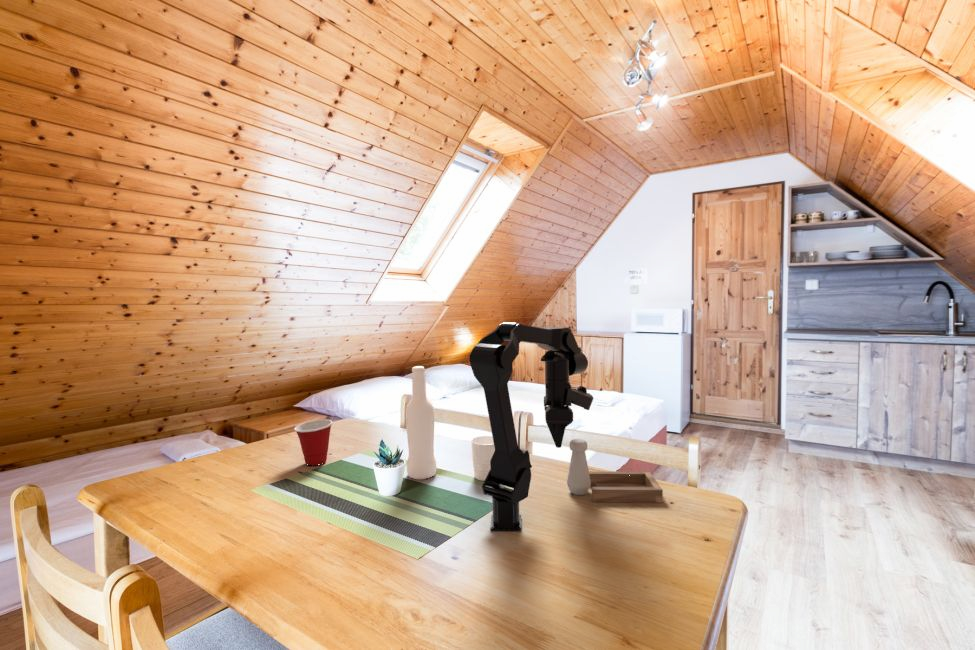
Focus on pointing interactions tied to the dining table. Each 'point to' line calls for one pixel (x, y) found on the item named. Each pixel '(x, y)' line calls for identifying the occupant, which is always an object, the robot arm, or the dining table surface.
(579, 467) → the salt shaker
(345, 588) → the dining table surface
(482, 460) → the white cup
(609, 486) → the rest
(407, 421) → the bottle
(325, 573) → the dining table surface
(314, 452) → the plastic cup
